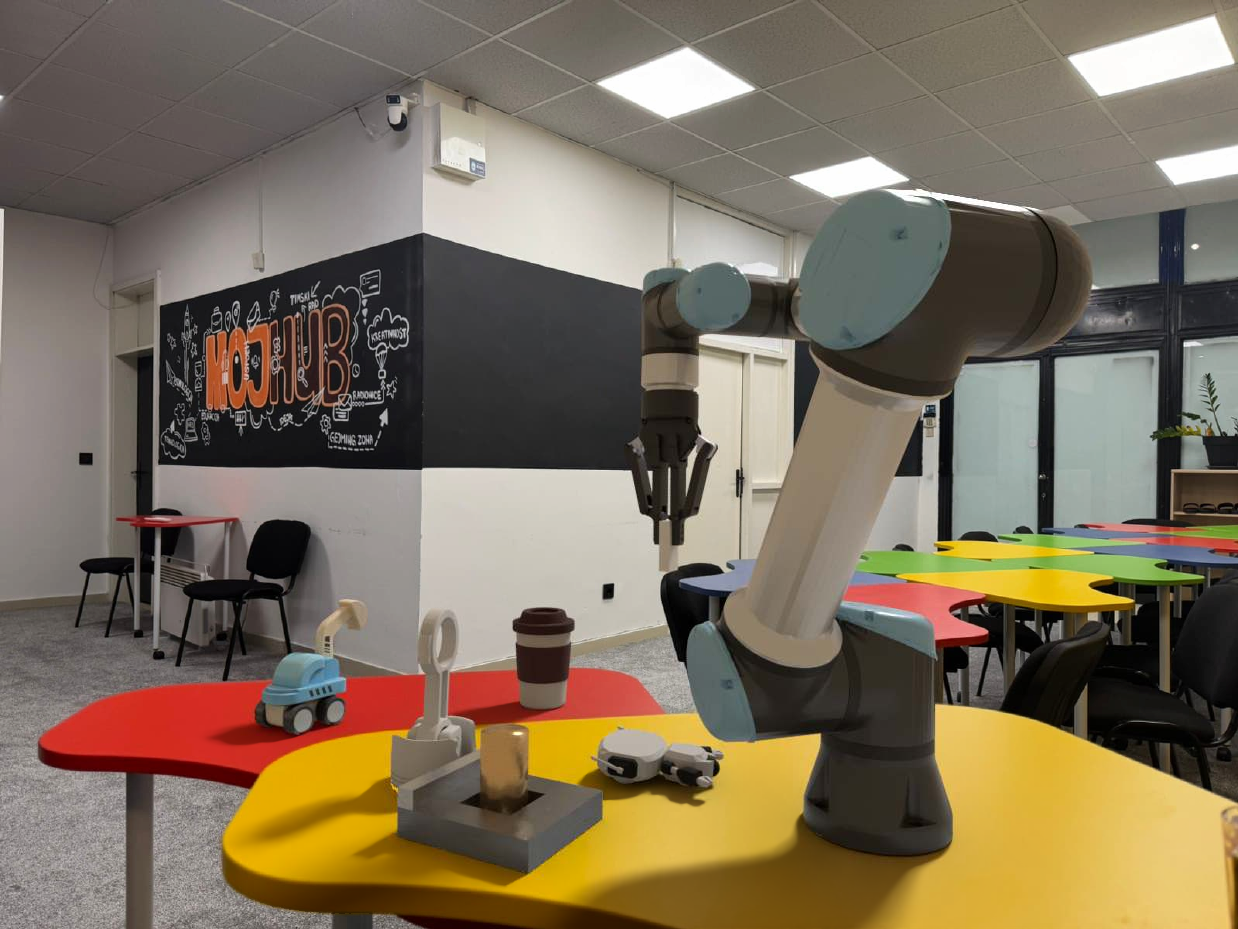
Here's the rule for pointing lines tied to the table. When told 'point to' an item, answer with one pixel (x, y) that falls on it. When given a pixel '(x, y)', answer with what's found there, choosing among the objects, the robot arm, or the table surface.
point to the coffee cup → (543, 656)
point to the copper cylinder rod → (504, 768)
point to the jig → (494, 816)
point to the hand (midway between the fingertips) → (668, 570)
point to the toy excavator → (310, 679)
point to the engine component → (433, 707)
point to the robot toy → (655, 759)
